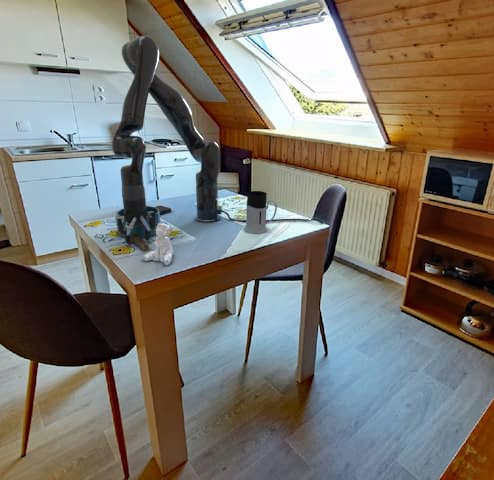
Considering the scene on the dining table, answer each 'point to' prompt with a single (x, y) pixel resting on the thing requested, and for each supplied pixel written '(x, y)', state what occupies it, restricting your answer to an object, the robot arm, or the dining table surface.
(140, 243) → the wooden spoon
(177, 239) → the dining table surface
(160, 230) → the seated beast figurine
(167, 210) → the smart home device
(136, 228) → the cooking pot
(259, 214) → the travel mug
